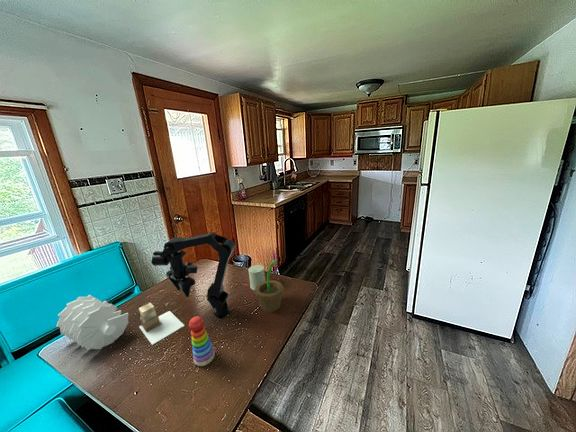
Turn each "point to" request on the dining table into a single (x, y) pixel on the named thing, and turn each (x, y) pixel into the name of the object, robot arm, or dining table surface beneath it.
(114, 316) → the spiral staircase
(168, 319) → the white board
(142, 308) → the maple cube
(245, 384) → the dining table surface
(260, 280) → the can
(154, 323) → the walnut block
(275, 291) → the flowerpot
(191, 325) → the stacking toy
